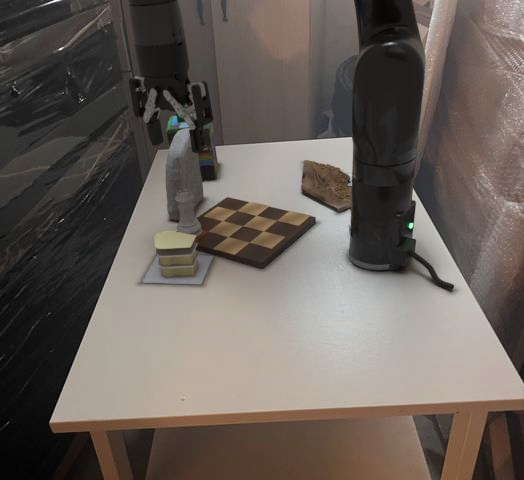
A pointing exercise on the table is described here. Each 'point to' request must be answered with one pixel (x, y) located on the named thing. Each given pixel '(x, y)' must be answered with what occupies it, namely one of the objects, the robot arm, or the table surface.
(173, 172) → the decorative stone
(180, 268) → the stacked layers on plate
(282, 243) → the game board
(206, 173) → the chalk box
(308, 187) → the wooden fragment
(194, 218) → the rook chess piece
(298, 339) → the table surface
